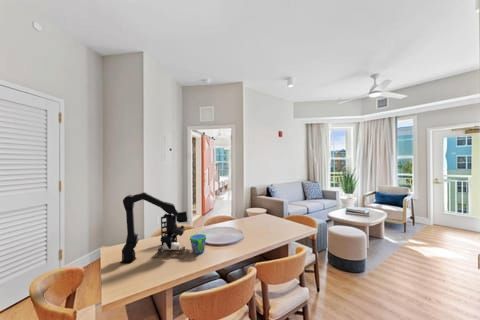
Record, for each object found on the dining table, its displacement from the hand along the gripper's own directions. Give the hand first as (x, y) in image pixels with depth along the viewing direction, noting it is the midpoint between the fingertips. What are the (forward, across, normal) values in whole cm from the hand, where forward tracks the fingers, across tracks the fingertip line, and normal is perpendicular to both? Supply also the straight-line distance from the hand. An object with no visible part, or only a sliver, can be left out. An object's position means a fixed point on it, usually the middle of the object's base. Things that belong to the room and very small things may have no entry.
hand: (171, 247), depth 139 cm
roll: (+1, 0, 0) cm, 1 cm away
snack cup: (+4, +4, -17) cm, 18 cm away
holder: (+4, +18, +9) cm, 21 cm away
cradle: (+4, 0, 0) cm, 4 cm away
